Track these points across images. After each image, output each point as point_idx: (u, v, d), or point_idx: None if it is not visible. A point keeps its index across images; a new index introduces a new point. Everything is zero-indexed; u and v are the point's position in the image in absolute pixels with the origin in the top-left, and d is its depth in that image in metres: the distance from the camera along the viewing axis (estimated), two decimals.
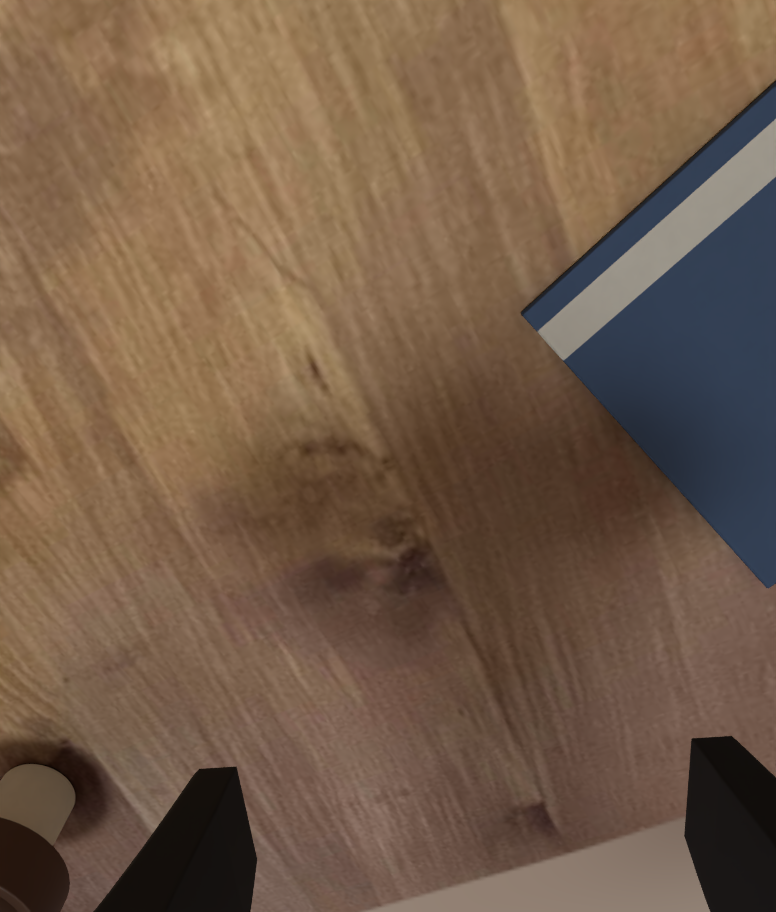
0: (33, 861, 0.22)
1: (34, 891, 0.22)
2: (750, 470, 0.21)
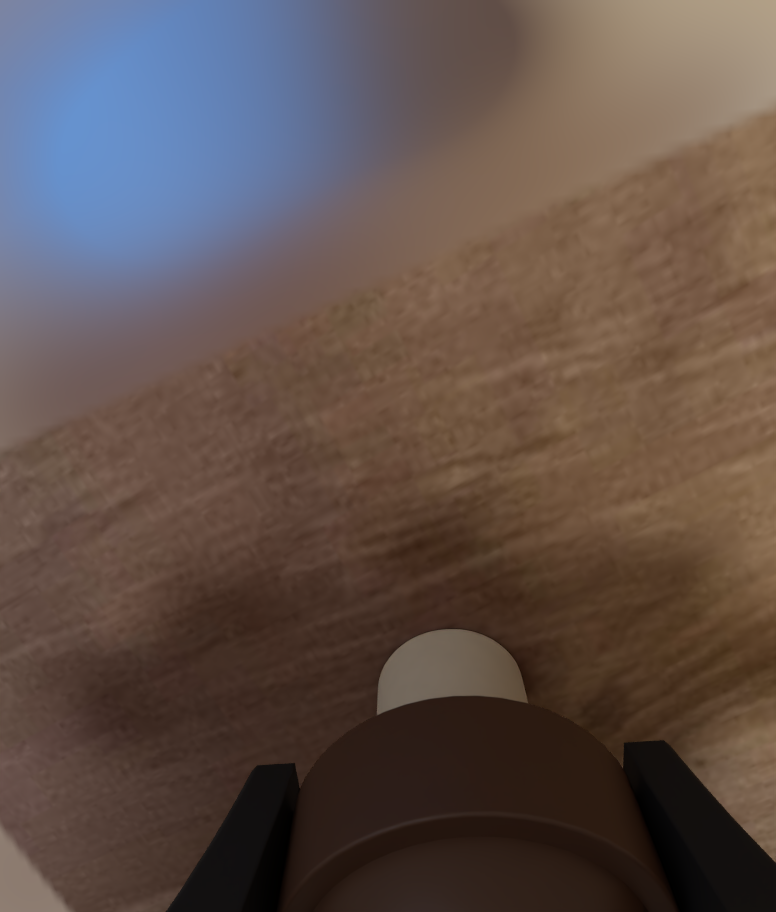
0: None
1: None
2: None
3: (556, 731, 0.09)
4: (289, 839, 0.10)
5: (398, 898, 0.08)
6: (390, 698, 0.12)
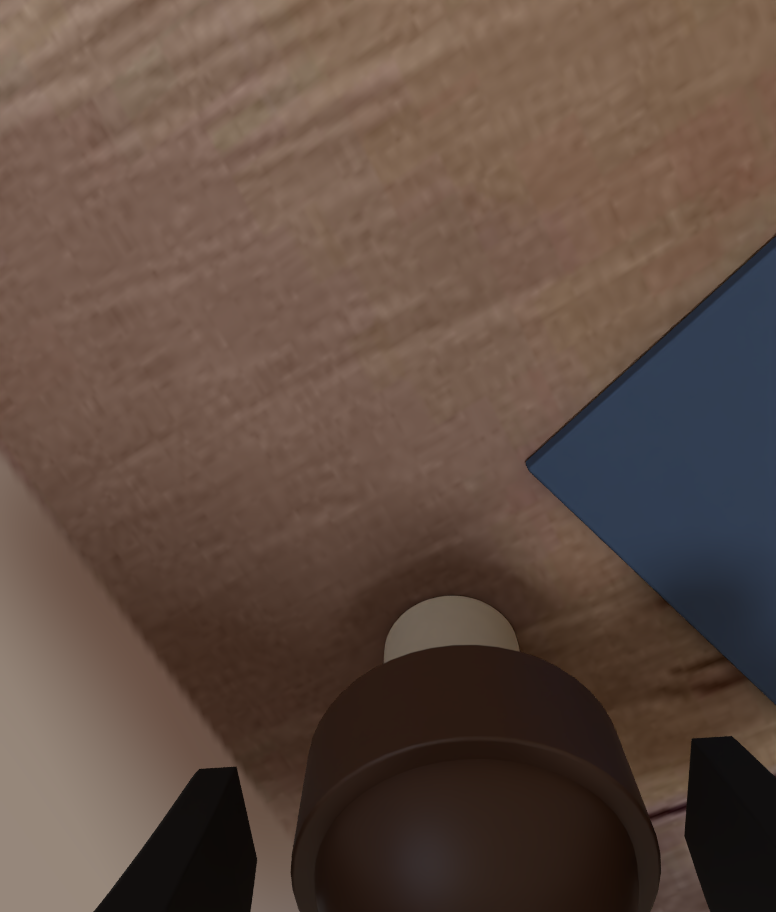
0: None
1: None
2: (762, 394, 0.12)
3: (546, 675, 0.11)
4: (306, 774, 0.11)
5: (405, 811, 0.09)
6: (396, 657, 0.13)
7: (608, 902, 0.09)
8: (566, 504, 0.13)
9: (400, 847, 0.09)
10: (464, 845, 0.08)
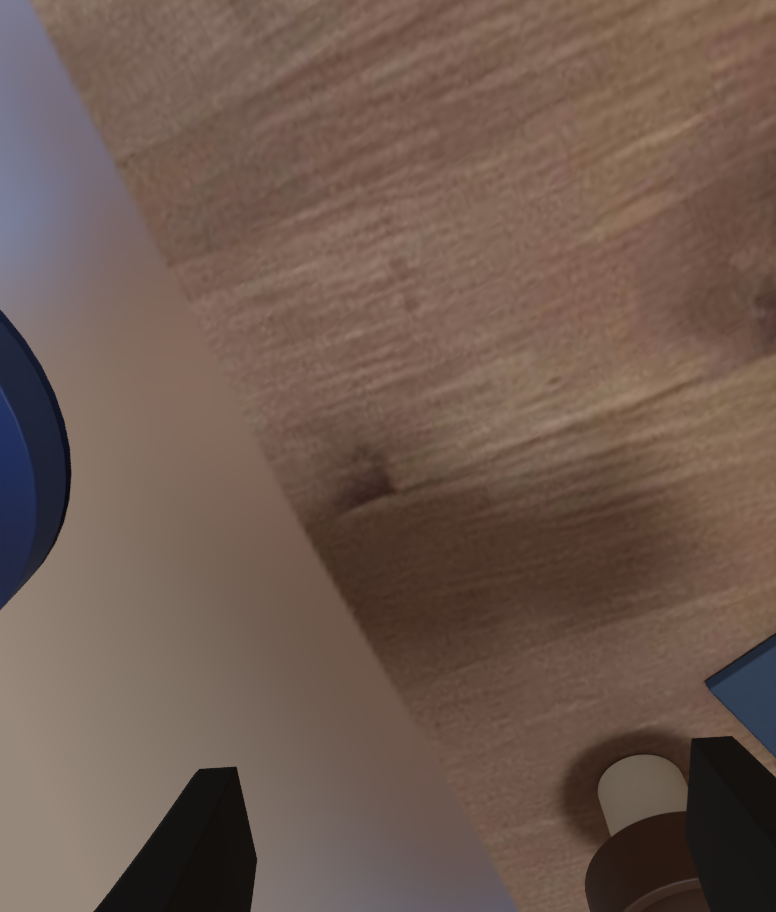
0: None
1: None
2: None
3: None
4: (598, 881, 0.19)
5: None
6: (620, 798, 0.22)
7: None
8: (730, 709, 0.22)
9: None
10: None
